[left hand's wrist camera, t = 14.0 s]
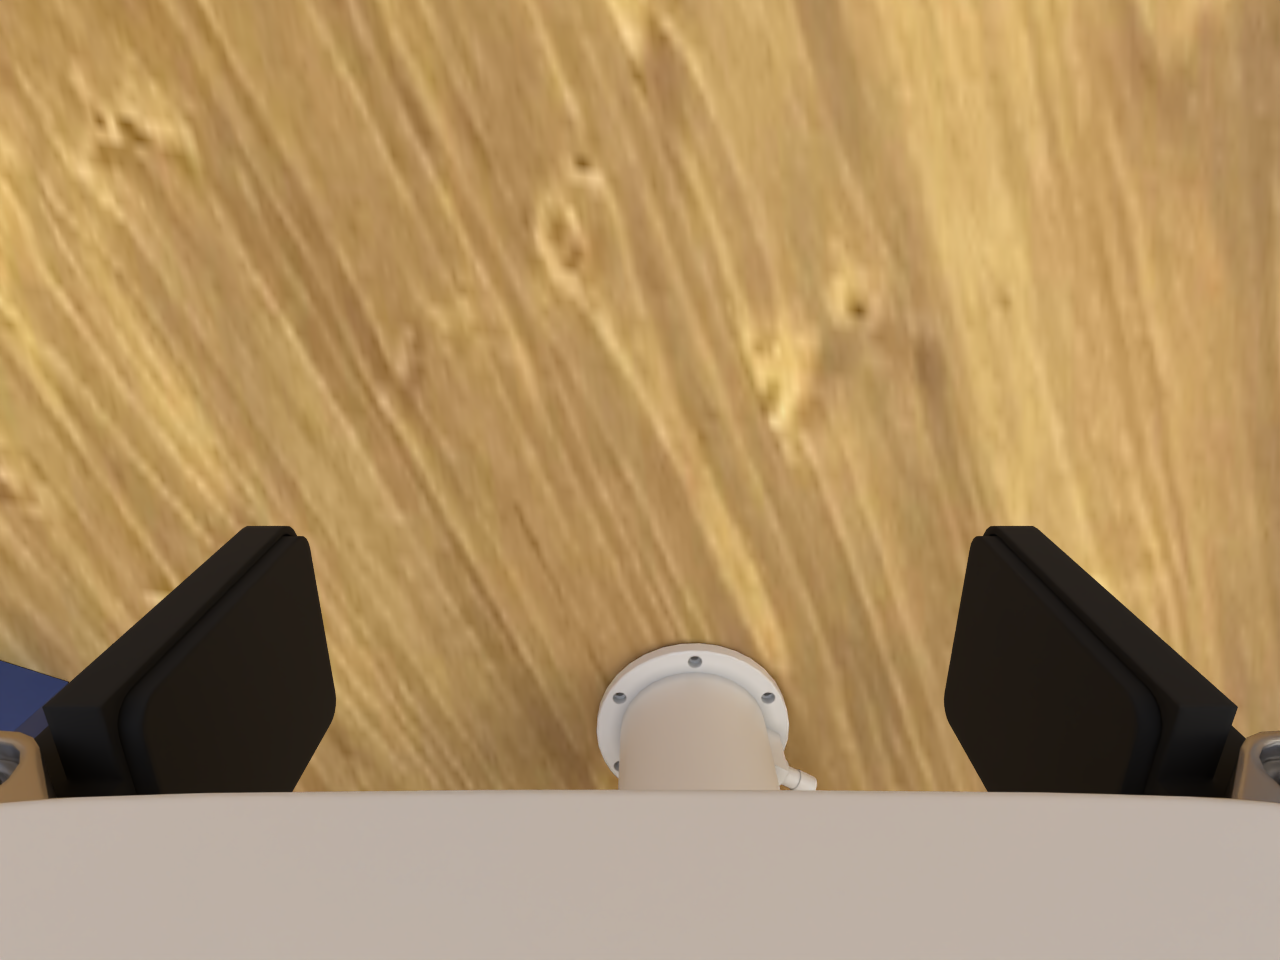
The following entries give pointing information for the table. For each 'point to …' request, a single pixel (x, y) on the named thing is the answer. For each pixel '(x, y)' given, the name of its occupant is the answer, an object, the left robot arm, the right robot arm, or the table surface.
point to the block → (25, 698)
